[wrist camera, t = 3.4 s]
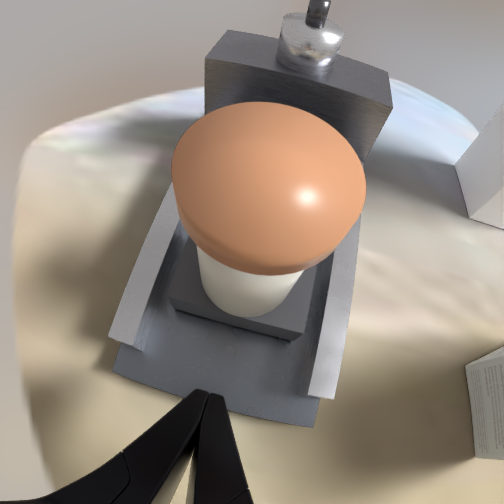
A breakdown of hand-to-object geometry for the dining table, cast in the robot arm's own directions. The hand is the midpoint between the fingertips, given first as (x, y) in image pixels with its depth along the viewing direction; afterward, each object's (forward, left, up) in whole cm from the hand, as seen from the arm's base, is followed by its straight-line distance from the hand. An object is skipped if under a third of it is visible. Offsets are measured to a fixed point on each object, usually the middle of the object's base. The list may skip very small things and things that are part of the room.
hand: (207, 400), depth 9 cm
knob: (+5, +2, -5) cm, 8 cm away
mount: (+9, +3, -7) cm, 12 cm away
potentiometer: (+16, +6, +1) cm, 17 cm away
